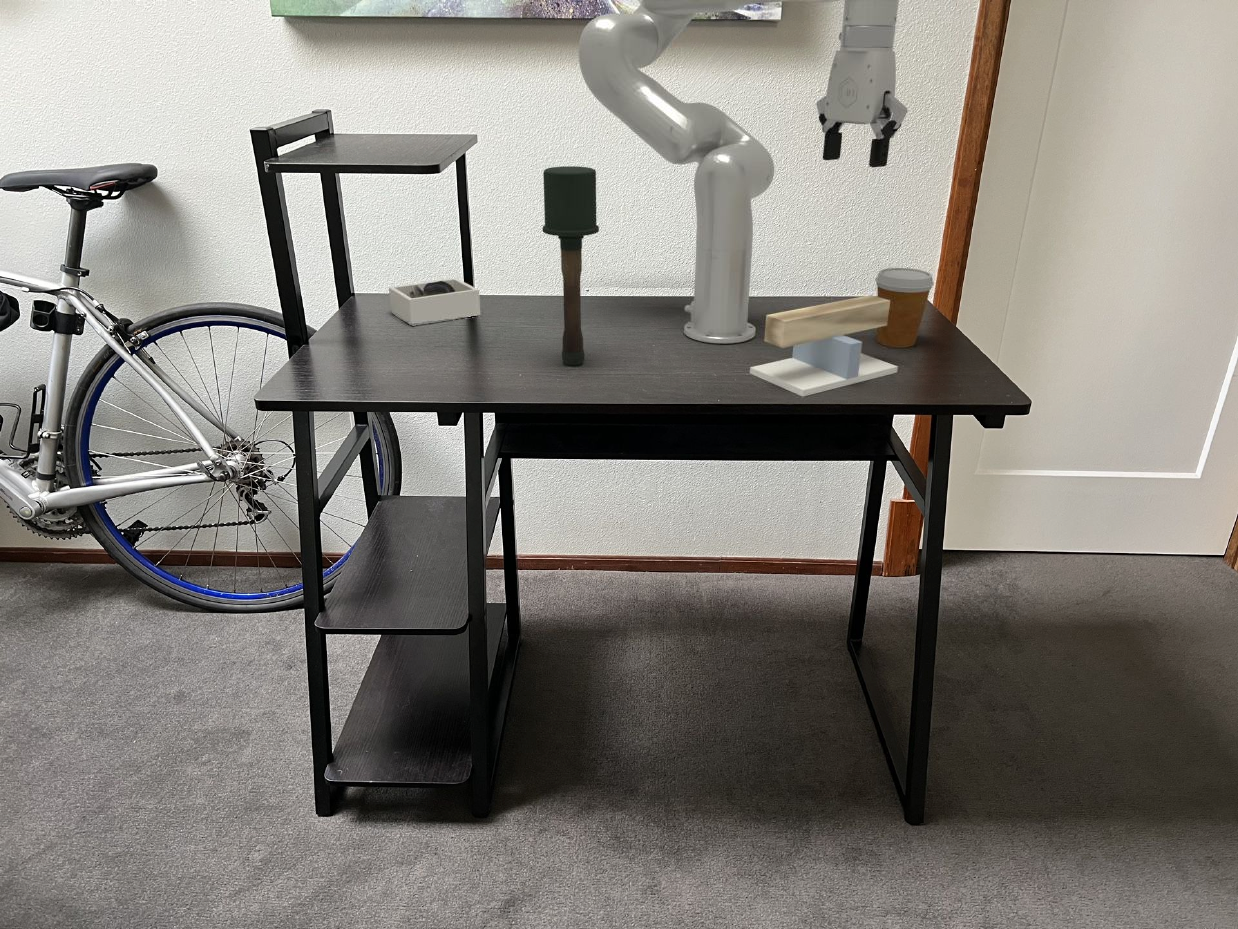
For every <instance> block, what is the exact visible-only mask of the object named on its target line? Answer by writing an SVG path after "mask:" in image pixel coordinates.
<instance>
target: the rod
mask: <svg viewBox="0 0 1238 929" xmlns="http://www.w3.org/2000/svg"><path fill="white" fill-rule="evenodd" d="M889 307H890V300H887V299H883V298H880V297H877V295H873V294H869V295H865V296H864V295H863V296H859V297H853V298H849V299H843V300H838V301H833V302H827V303H823V304H816V305H813V306H812V305H811V306H807V307H802V308H801V307H800V308H796V309H792V310H786V311H780V312H776V313H771V314H766V316H765V329H764V339H763V340H764V342H766V343H768V344H771V345H773V346H777V347H779V348H780V349H784V348H789V347H793V346H795V345H799V344H804V343H808V342H813V341H817V340H822V339H827V338H831V337H836V336H840V335H844V336H846V335H850V334H854V333H858V332H863V331H868V330H871V329H877V327H882V326H886V325H887V321H888V314H889Z"/></svg>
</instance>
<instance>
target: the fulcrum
mask: <svg viewBox="0 0 1238 929" xmlns="http://www.w3.org/2000/svg"><path fill="white" fill-rule="evenodd" d="M862 346H863V341H861V340H858V339H855V338H852V337H849V336H848V335H847V336H846V335H840V336H836V337H831V338H827V339H822V340H817V341H813V342H808V343H804V344H799V345H795V346H792V347H793V348H792V355H791V356H792V357H791V358H786V359H781V360H777V361H773V362H768V363H764V364H759V365H754V366H750V367H749V374H750V375H753V376H755V377H758V378H759V379H762V380H764V381H766V382H768V383H771V384H772V385H775V386H778V387H780V388H782V389H785V390H787V391H789V392H791V393H794V394H795V395H798V396H800V397H807V396H812V395H815V394H818V393H819V394H820V393H823V392H826V391H829V390H830V391H831V390H834V389H838V388H842V387H847V386H850V385H854V384H857V383H858V384H859V383H862V382H865V381H869V380H874V379H878V378H882V377H885V376H889V375H893V374H896V373H898V367H899V366H898V365H894V364H892V363H889V362H887V361H883V360H881V359H879V358H875V357H872V356H870V355H866V354H864V353H862Z"/></svg>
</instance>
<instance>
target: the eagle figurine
mask: <svg viewBox="0 0 1238 929" xmlns="http://www.w3.org/2000/svg"><path fill="white" fill-rule="evenodd" d="M437 281H438V282H433V283H428V284H426V286H425V287H424V289H423V290H424V291H423V290H421V289H420V288H419V287H418V286H417V285H415V288H416V290H417V292H418V293H419V294H420V295H421V296H419V297H425V296H432V295H439V294H446V293H453V292H455V289H454V288H453V287H452V286H451V285H450V284H449V283H447V282H443V281H439V280H437ZM409 293H410V296H409V295H408V294H407V296H409V297H410V298H415V297H416V295H415V294H414V292H413V291H412V292H409ZM416 298H418V297H416Z"/></svg>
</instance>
